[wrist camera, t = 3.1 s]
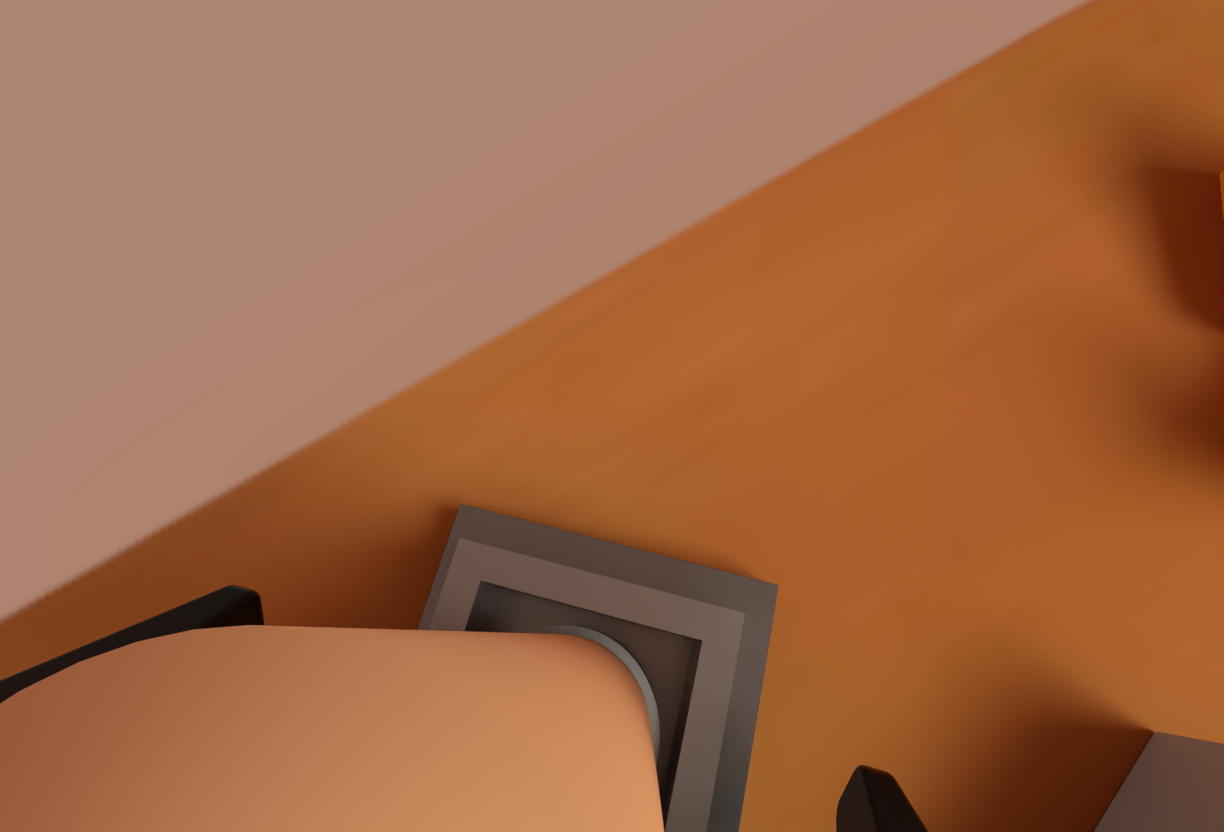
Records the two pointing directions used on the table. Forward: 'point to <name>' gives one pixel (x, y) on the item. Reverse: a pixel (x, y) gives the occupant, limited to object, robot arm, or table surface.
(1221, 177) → the pipe clamp
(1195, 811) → the bin
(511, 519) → the stud base
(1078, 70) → the table surface
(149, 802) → the tan rounded tapered piece
